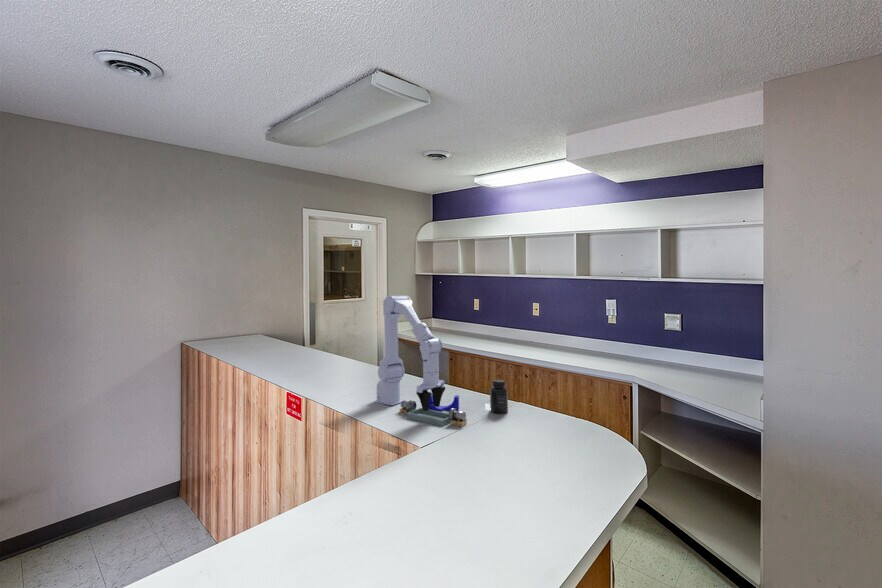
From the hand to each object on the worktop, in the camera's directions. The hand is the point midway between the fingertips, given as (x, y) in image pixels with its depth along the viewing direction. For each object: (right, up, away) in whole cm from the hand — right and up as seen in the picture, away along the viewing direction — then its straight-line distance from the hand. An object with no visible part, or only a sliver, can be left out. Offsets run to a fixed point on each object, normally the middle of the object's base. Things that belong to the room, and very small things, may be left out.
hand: (431, 408), depth 151 cm
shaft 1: (-9, -4, +7) cm, 12 cm away
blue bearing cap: (+4, -4, +10) cm, 12 cm away
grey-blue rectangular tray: (0, -4, 0) cm, 4 cm away
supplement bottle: (+26, -4, +9) cm, 28 cm away
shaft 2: (+10, -4, -6) cm, 12 cm away
